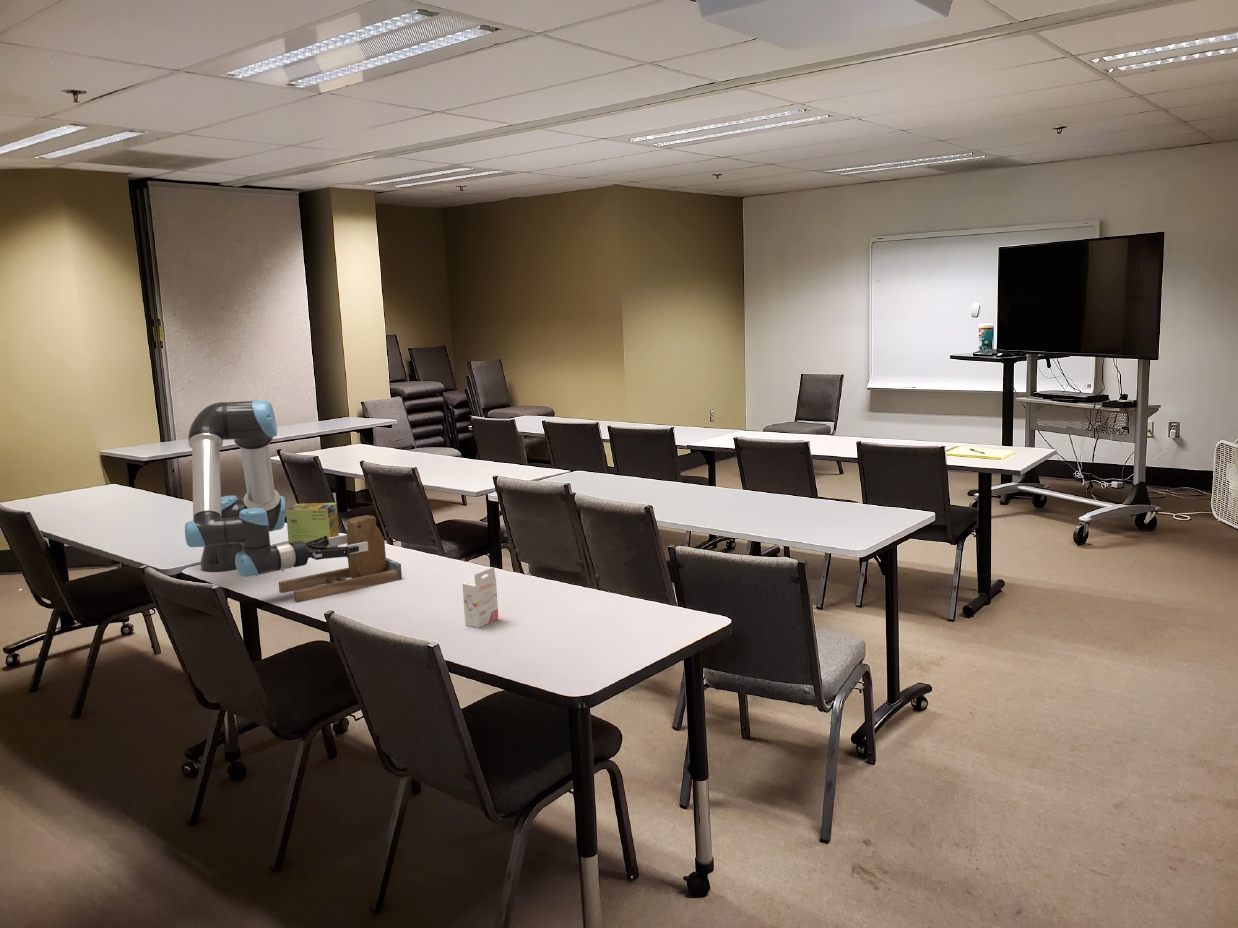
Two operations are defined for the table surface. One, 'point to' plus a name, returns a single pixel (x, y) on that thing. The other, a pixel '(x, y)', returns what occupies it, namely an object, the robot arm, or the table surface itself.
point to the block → (375, 556)
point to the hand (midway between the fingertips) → (357, 542)
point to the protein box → (312, 522)
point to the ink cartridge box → (480, 599)
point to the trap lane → (338, 587)
